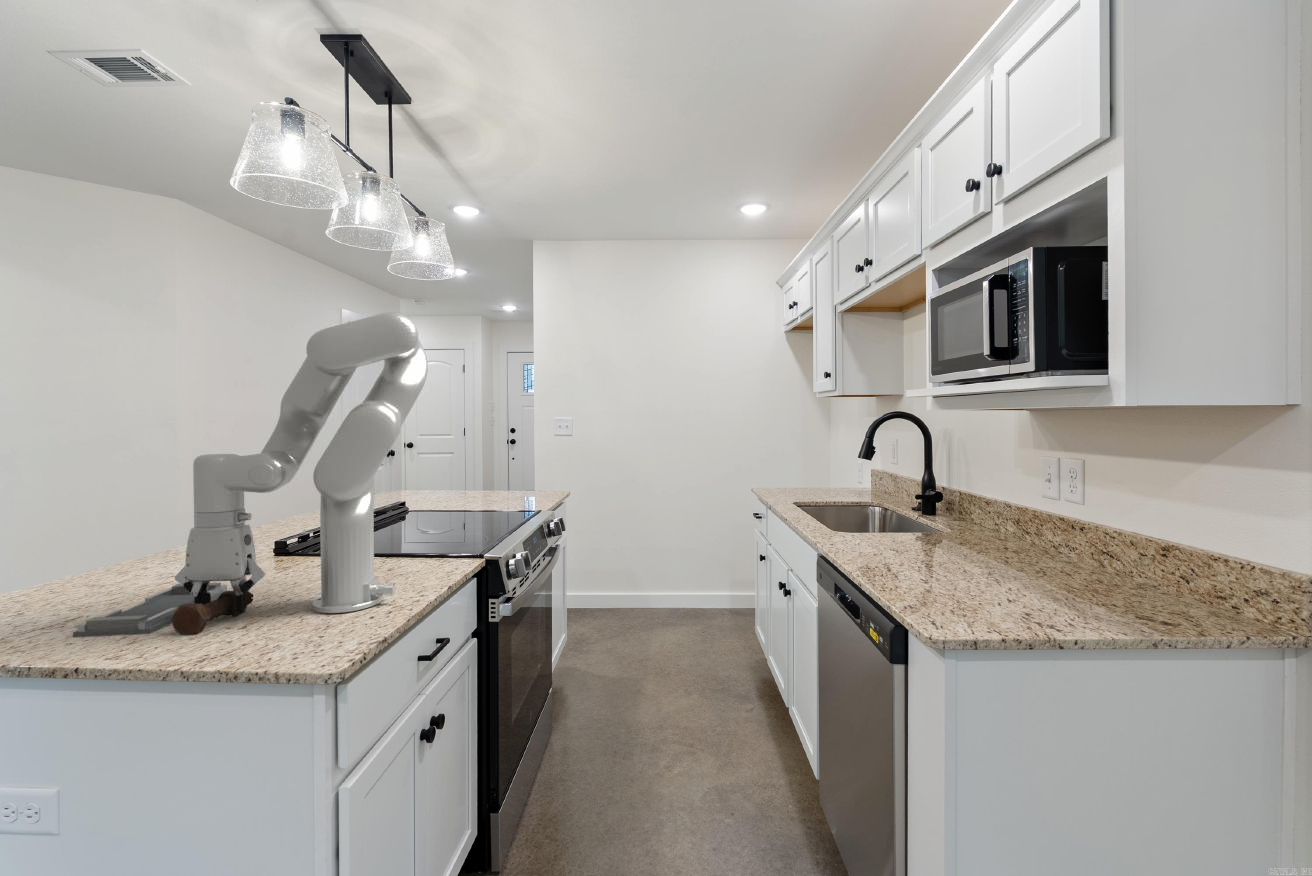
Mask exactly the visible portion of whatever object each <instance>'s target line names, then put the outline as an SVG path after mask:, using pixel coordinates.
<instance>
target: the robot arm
mask: <svg viewBox="0 0 1312 876" xmlns="http://www.w3.org/2000/svg"><path fill="white" fill-rule="evenodd" d="M305 353H306V358H305V359H304V361H303V362H302V365H301V366H300V368H299V369H298V371H297V372H296V374H295V376H294V377H293V379H292V380H291V383H290V384H289V386H288V387H287V389H286V391H285V392H284V394H283V395H282V399H281V402H280V409H279V410H280V411H279V417H278V421H277V423H276V426H275V427H274V430H273V432H272V433H271V436H270V437H269V439H268V440H267V442H266V443H265V445H264V447H263V449H262V451H260V453H256V454H255V453H254V454H248V455H239V454H236V453H235V454H234V453H211V454H209V453H208V454H207V453H206V454H202V455H199V456H196V457H195V458H194V460H193V464H192V466H193V467H192V472H193V473H192V475H193V480H192V481H193V527H192V528H190V529H189V530H190V531H189V535H188V538H187V542H186V551H185V564H184V566H183V567H182V568H181V569H180V571H178V573H177V574H176V575H174V580H175V581H176V582H177V583H178V584H182V585H184V588H186V589H187V590H188V591H189V592H190V593H191V596H192V597H194V604H203V605H204V604H206V603H209V602H211V594H210V592H207V590H208V587H209V584H210V583H211V582H229V583H230V586H231V589H232V591H234V593H235V595H234V596H232V597H231V616H230V617H232V618H237V617H239V616H241V615H242V614H243V615H244V613H245V612H246V610H247V607H248V605H247V591H249V592H250V590H251V588H252V587H254V586H255V585H256V583H258V582H259V581H260V580H261V579H263V577H265V576H266V573H265V571H263V569H262V568H260V565H258V564H257V557H256V547H255V542H254V536H253V532H252V529H251V526H250V524H245V523H246V522H247V521H250V520H251V519H252V517H253V516H252V513H250V512H246V508H245V493H247V492H248V493H259V494H262V493H272V492H274V491H277V490H278V489H282V488H283V486H286V485H287V484H289V483H290V482H292V480H293V479H294V477H296V475H297V472H298V471H299V470H300V467H301V466H302V464H303V463H304V461H305V459H306V458H307V456H308V454H309V453H310V451H311V450H312V449H311V448H312V447H313V445H314V443H315V441H316V439H317V437H318V436H319V434H320V432H321V430H322V429H323V428H324V427H325V424H327V423H326V422H327V421H328V419H329V416H330V414H332V411H333V409H334V407H335V406H336V404H337V402H338V400H339V399H340V397H341V395H342V393H343V391H344V390H345V389H346V387H347V386H348V384H349V382H350V381H351V379H352V377H353V375H354V373H355V371H356V370H357V368H359V367H364V366H367V365H371V364H374V363H377V362H380V361H381V362H382V361H383V362H384V365H383V369H382V370H381V372H380V374H379V376H378V377H377V379H376V380H375V381H374V384H373V386H372V388H371V389H370V391H369V392H368V394H367V395H366V397H365V398H364V400H363V401H362V403H360V404H358V405H356V406H355V407H354V408H352V409H351V410H350V411H349V413H348V414H347V416H346V417H345V419H344V420H343V421H342V423H341V424H340V427H338V429H337V431H336V433H335V434H334V436H333V438H332V439H331V440H330V443H329V444H328V446H327V447H326V449H325V450H324V452H323V454H322V455H321V457H320V458H319V460H318V461H317V464H316V465H315V467H314V470H313V473H312V474H313V475H312V476H313V483H314V486H315V488H316V490H317V491H318V493H319V494H320V505H319V507H320V509H319V510H320V511H319V512H320V519H319V522H320V523H319V525H320V530H319V532H320V533H319V534H320V538H319V540H320V581H321V582H320V584H321V587H320V588H321V596H320V597H317V598H316V599H314V600H313V602H312V610H313V611H315V612H317V613H323V614H343V613H350V612H355V611H360V610H365V609H369V608H371V607H374V606H376V605H378V604H380V603H381V601H383V599H384V596H388V595H389V596H391V595H392V596H393V595H395V593H396V585H395V584H394V583H393V582H391V583H390V582H388V583H381V582H380V577H379V576H375V550H374V549H375V548H374V546H375V545H374V544H375V541H374V539H375V538H374V537H375V536H374V535H375V533H374V526H375V523H374V522H375V521H374V519H375V518H374V517H375V515H374V508H375V507H374V502H375V501H374V499H375V498H374V491H375V488H374V487H375V475H376V474H377V472H378V470H380V467H381V466H382V464H383V462H384V460H385V459H386V457H387V456H388V454H389V453H390V450H391V449H392V447H393V445H394V444H395V442H396V440H397V439H398V437H399V434H400V432H401V429H402V426H403V424H404V422H405V420H406V418H407V417H408V415H409V414H410V412H411V410H412V408H413V406H414V404H415V403H416V402H417V399H418V397H419V395H420V394H421V392H422V390H423V387H424V385H425V383H426V381H427V376H428V370H429V368H428V366H429V365H428V357H427V354H426V351H425V349H424V346H423V344H422V343H421V341H420V339H419V332H418V328H417V327H416V324H415V323H414V322H413V320H412V319H410V318H409V317H408V316H407V315H405V314H402V313H399V312H391V311H390V312H383V313H379V314H375V315H371V316H367V317H364V318H360V319H357V320H353V321H349V322H344V323H341V324H337V325H333V326H329V327H326V328H323V329H320V330H318V331H316V332H315V333H313V334H312V335H311V336H310V338H309V339H308V341H307V343H306V352H305ZM250 575H251V577H250V578H249V579H247V577H246V576H250Z"/></svg>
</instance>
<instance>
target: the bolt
mask: <svg viewBox="0 0 1312 876" xmlns="http://www.w3.org/2000/svg"><path fill="white" fill-rule="evenodd" d="M234 595H235V593H234V591H233V590H231V591H226V592H223V593H221V595H220V596H219V597H218V599H217V600H214V601H212V602H209V603H206V604H204V605H203V604H183V605H180V606H179V607H178V609H177V610H176V611H175V613H174V615H173V617H172V623H171V624H172V628H173V629H174V631H176V633H178V634H179V635H180V636H181V635H182V636H191V635H192V636H193V635H199V634H201V633H202V632H203V631H204V629H205V628H206V625H207V624H208V623H209V622H211V621H213V620H214V619H217V618H220V617H222V616H223V617H224V616H225V617H232V616H231V597H232V596H234ZM253 601H254V593H252V592H250V590H249V591H247V606H249V605H251V604H252V602H253Z"/></svg>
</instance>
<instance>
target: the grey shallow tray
mask: <svg viewBox="0 0 1312 876" xmlns="http://www.w3.org/2000/svg"><path fill="white" fill-rule="evenodd" d="M221 583H222V582H210V584H209V587H208V590H207V592H210V594H211V598H212V597H214V596H216V595H218V594H220V593H222V592H224V591H227V590H228V584H221ZM187 594H191V593H190V592H189V591H188V590H187V589H186V588H184V585H182V584H180V583H178V584H175V585H172V586H171V587H170V588H167V589H164V590H162V591H159V592H158V593H155V594H152V595H150V596H147V597H145V598H144V603H145V604H152V603H154V602H157V601H159V600H161V599H164V598H166V597H168V596H171V595H187ZM176 610H177V608H170V609H168V610H165V611H163V612H161V613H159V614H157V615H154V616H152V617H150V618H148V617H147V615H141V616H122V612H123V609H115V610H113V611H110V612H107V613H105V614H103V615H99V616H97V617H96V616H95V617H92V618H90V619H87V620H85V622H83V623H80V624H77V630H78V632H85V631H103V630H126V629H146V628H149V627H151V626H153V625H155V624H157V623H159V622H161V621H163V620H165V619H167V618H170V617H172V616H173V615H174V613H175V611H176Z"/></svg>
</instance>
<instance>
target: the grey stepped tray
mask: <svg viewBox="0 0 1312 876" xmlns="http://www.w3.org/2000/svg"><path fill="white" fill-rule="evenodd" d="M227 591H232V590H228V589H227ZM224 592H226V591H224ZM222 593H223V592H222ZM220 595H221V593H220V594H218V595H216V596H214V597H212V598H211V602H212V601H214V600H217V599H218V597H219V596H220ZM183 604H194V597H192V596H191V594H187V595H171V596H168V597H166V598H164V599H161V600H159V601H157V602H154V603H152V604H145V602H143V603H139V605H136V606H133V607H131V608H128V609H126V610H124V611H123V610H122V616H141V615H147V617H148V618H150V617H152V616H154V615H157V614H159V613H161V612H163V611H165V610H168V609H170V608H177V609H178V607H179V606H180V605H183ZM172 617H173V616H172ZM172 617H170V618H167V619H165V620H163V621H161V622H159V623H157V624H155V625H153V626H151V627H149V628H146V629H126V630H103V631H85V632H78V629H77V630H75V631H73V632H72V637H73V638H80V637H99V636H102V637H103V636H122V635H125V636H126V635H143V634H144V635H146V634H152V633H155V632H156V631H158V630H160V629H162V628H164V627H166V626H169V625H171V624H172Z"/></svg>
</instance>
